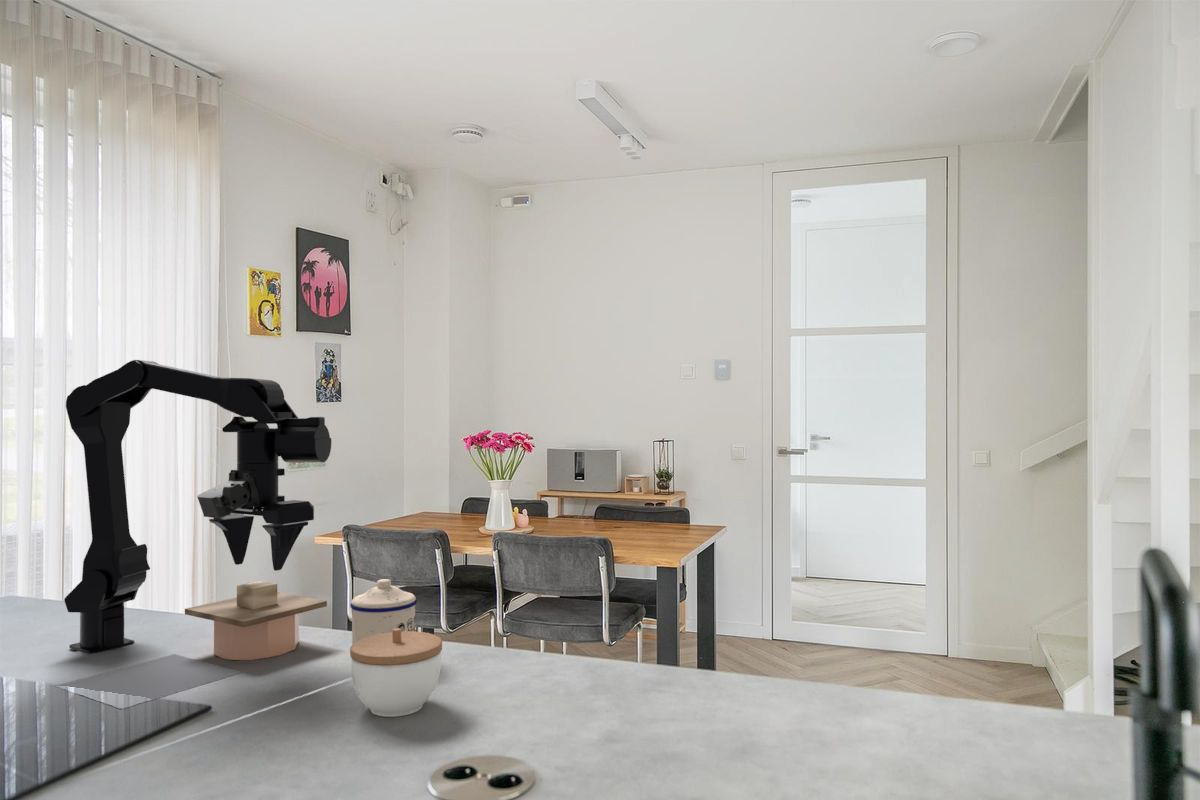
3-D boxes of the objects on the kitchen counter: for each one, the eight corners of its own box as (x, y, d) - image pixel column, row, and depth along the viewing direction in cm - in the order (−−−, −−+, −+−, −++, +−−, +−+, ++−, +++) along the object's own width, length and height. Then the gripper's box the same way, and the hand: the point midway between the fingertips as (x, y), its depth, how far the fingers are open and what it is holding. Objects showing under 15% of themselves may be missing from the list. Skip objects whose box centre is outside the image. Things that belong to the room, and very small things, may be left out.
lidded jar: (419, 728, 91) (419, 644, 91) (332, 721, 93) (332, 639, 93) (455, 695, 101) (455, 620, 101) (376, 689, 103) (376, 616, 104)
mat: (53, 688, 104) (53, 685, 104) (174, 656, 118) (174, 654, 118) (121, 711, 96) (121, 709, 96) (242, 674, 110) (242, 672, 110)
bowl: (200, 654, 119) (200, 613, 119) (266, 636, 128) (266, 598, 128) (247, 666, 113) (247, 623, 113) (312, 646, 122) (312, 607, 122)
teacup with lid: (400, 674, 109) (399, 588, 109) (338, 670, 111) (338, 585, 111) (434, 649, 121) (434, 571, 121) (378, 646, 123) (378, 569, 123)
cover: (184, 614, 118) (184, 588, 118) (268, 595, 130) (268, 571, 130) (244, 627, 111) (244, 599, 111) (326, 606, 123) (326, 581, 123)
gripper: (169, 463, 119) (169, 570, 119) (248, 467, 109) (248, 583, 109) (238, 459, 129) (237, 558, 128) (316, 463, 119) (316, 569, 119)
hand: (257, 567), depth 121 cm, fingers open, 9 cm apart
